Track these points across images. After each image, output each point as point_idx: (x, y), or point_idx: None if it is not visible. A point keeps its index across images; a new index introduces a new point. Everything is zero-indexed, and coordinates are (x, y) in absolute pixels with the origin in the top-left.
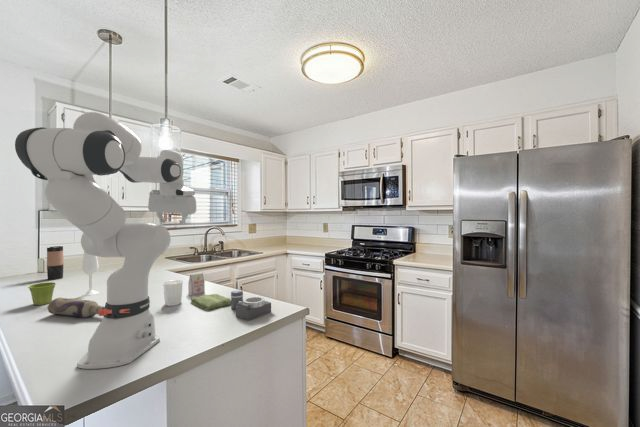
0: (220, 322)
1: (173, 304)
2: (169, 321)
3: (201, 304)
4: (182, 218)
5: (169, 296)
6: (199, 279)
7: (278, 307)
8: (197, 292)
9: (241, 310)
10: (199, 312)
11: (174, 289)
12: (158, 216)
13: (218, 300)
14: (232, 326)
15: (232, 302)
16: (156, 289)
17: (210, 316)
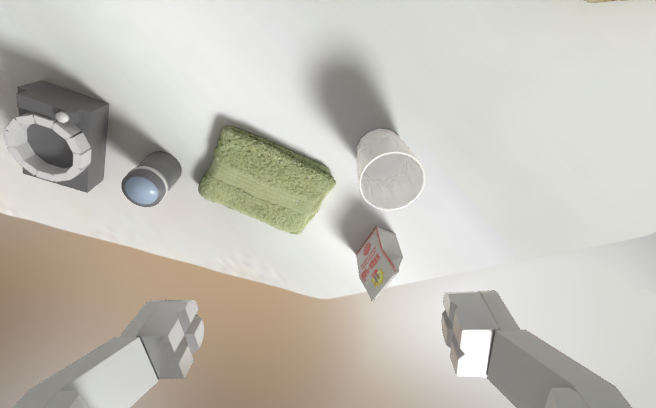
0: (108, 44)
1: (364, 136)
2: (267, 4)
3: (259, 141)
4: (99, 360)
5: (377, 138)
6: (371, 275)
7: (58, 198)
8: (368, 242)
9: (62, 99)
10: (239, 104)
11: (366, 154)
12: (552, 356)
13: (224, 175)
14: (45, 23)
15: (156, 160)
16: (524, 245)
17: (179, 82)
